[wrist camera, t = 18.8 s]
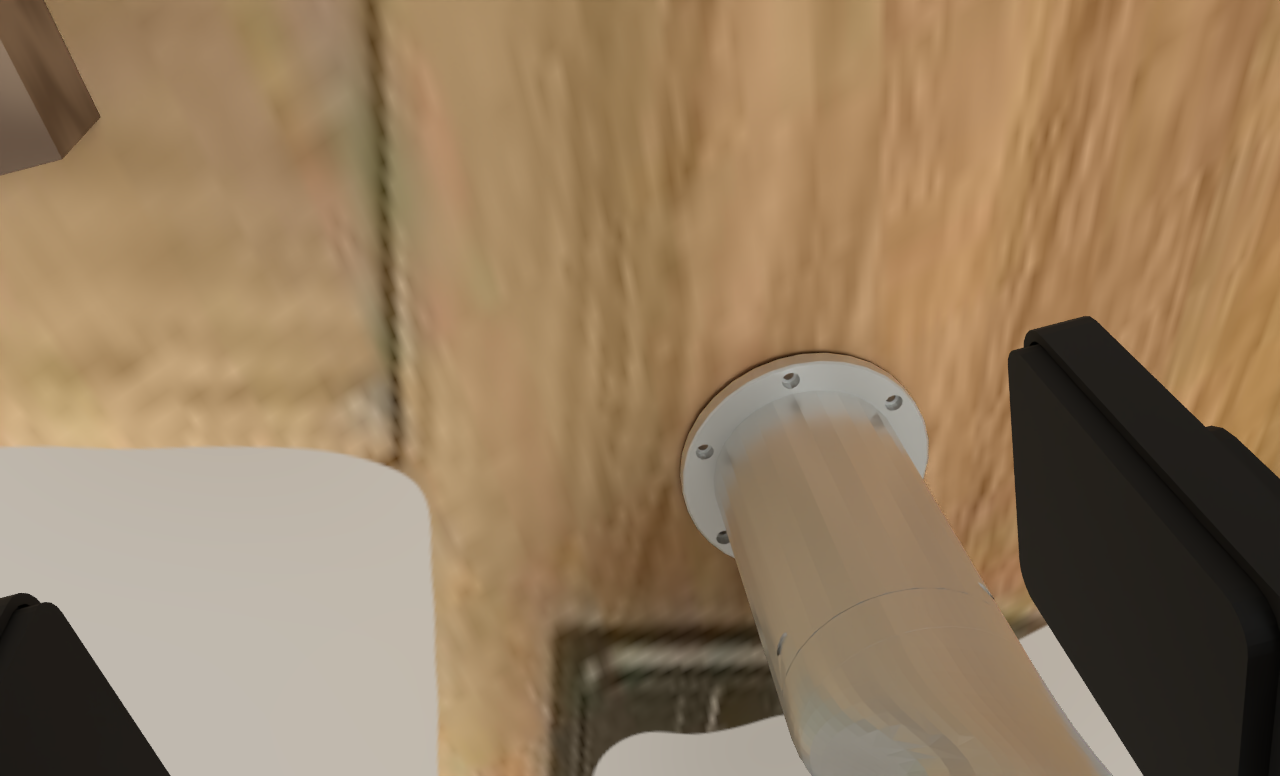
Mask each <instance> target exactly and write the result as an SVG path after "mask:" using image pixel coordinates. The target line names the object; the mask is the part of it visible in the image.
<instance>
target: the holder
mask: <svg viewBox="0 0 1280 776" xmlns="http://www.w3.org/2000/svg"><path fill="white" fill-rule="evenodd" d="M99 118H100V115H99V113H98V111H97V109H96V107H95V105H94V103H93V101H92V99H91V97H90V95H89V93H88V91H87V89H86V87H85V85H84V83H83V80H82V78H81V76H80V74H79V72H78V70H77V68H76V66H75V64H74V62H73V60H72V58H71V56H70V54H69V52H68V50H67V48H66V46H65V44H64V41H63V39H62V37H61V35H60V33H59V31H58V29H57V27H56V25H55V23H54V21H53V19H52V17H51V15H50V13H49V11H48V9H47V7H46V5H45V3H44V0H0V175H4V174H8V173H11V172H15V171H19V170H23V169H27V168H31V167H34V166H38V165H42V164H46V163H50V162H53V161H57V160H61V159H63V158H64V157H65V156H66V154H67V153H68V152H69V151H70V150H71V149H72V148H73V147H74V146H75V144H76V143H77V142H78V141H79V140H80V139H81V138H82V137H83V136H84V135H85V133H86V132H87V131H88V130H89V129H90V128H91V127H92V126H93V125H94V123H95V122H96V121H97V120H98V119H99Z"/></svg>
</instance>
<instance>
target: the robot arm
mask: <svg viewBox="0 0 1280 776" xmlns="http://www.w3.org/2000/svg"><path fill="white" fill-rule="evenodd" d="M788 373H790V374H788ZM786 374H788V375H786ZM1008 375H1009V391H1010V408H1011V425H1012V442H1013V458H1014V475H1015V492H1016V509H1017V525H1018V542H1019V559H1020V567H1021V572H1022V576H1023V579H1024V582H1025V585H1026V588H1027V590H1028V592H1029V595H1030V597H1031V598H1032V600H1033V602H1034V603H1035V605H1036V607H1037V608H1038V610H1039V611H1040V613H1041V615H1042V616H1043V618H1044V619H1045V621H1046V622H1047V624H1048V626H1049V627H1050V629H1051V630H1052V632H1053V633H1054V635H1055V637H1056V638H1057V640H1058V641H1059V643H1060V645H1061V646H1062V648H1063V649H1064V651H1065V652H1066V654H1067V656H1068V657H1069V659H1070V660H1071V662H1072V663H1073V665H1074V667H1075V668H1076V670H1077V671H1078V673H1079V674H1080V676H1081V677H1082V679H1083V681H1084V682H1085V684H1086V686H1087V687H1088V689H1089V690H1090V692H1091V693H1092V695H1093V697H1094V698H1095V700H1096V701H1097V703H1098V705H1099V706H1100V708H1101V709H1102V711H1103V712H1104V714H1105V715H1106V717H1107V719H1108V720H1109V722H1110V723H1111V725H1112V727H1113V728H1114V730H1115V731H1116V733H1117V734H1118V736H1119V738H1120V739H1121V741H1122V742H1123V744H1124V746H1125V747H1126V749H1127V750H1128V752H1129V754H1130V755H1131V757H1132V758H1133V760H1134V761H1135V763H1136V764H1137V766H1138V768H1139V769H1140V771H1141V772H1142V774H1143V776H1280V479H1279V478H1278V477H1277V476H1276V475H1275V474H1274V473H1273V472H1272V471H1271V470H1270V469H1269V468H1268V467H1267V466H1266V465H1264V464H1263V463H1262V462H1261V461H1260V460H1259V459H1258V458H1257V457H1256V456H1255V455H1254V454H1253V453H1252V452H1251V451H1250V450H1249V449H1248V448H1247V447H1245V446H1244V445H1243V444H1242V443H1241V442H1240V441H1239V440H1238V439H1237V438H1236V437H1235V436H1233V435H1232V434H1231V433H1229V432H1228V431H1226V430H1225V429H1224V428H1220V427H1215V426H1208V427H1205V426H1204V425H1203V424H1202V423H1201V422H1200V421H1199V420H1198V419H1197V418H1196V417H1195V416H1194V415H1193V414H1192V413H1191V412H1189V411H1188V410H1187V409H1186V408H1185V407H1184V406H1183V405H1182V404H1181V403H1180V402H1179V401H1178V400H1177V399H1176V398H1175V397H1174V396H1173V395H1172V394H1171V393H1170V392H1169V391H1168V390H1167V389H1166V388H1165V387H1164V386H1163V385H1162V384H1161V383H1160V382H1159V381H1158V380H1157V379H1156V378H1155V377H1154V376H1153V375H1151V374H1150V373H1149V372H1148V371H1147V370H1146V369H1145V368H1144V367H1143V366H1142V365H1141V364H1140V363H1139V362H1138V361H1137V360H1136V359H1135V358H1134V357H1133V356H1132V355H1131V354H1130V353H1129V352H1128V351H1127V350H1126V349H1125V348H1124V347H1123V346H1122V345H1121V344H1120V343H1119V342H1118V341H1117V340H1116V339H1114V338H1113V337H1112V336H1111V335H1110V334H1109V333H1108V332H1107V331H1106V330H1105V329H1104V328H1103V327H1102V326H1101V325H1100V324H1099V323H1098V322H1097V321H1096V320H1094V319H1093V318H1091V317H1090V316H1083V317H1080V318H1076V319H1072V320H1068V321H1064V322H1060V323H1057V324H1053V325H1049V326H1045V327H1041V328H1037V329H1033V330H1030V331H1029V332H1028V333H1027V334H1026V336H1025V340H1024V348H1021V349H1017V350H1013V351H1011V353H1010V354H1009V358H1008ZM927 462H928V435H927V430H926V426H925V422H924V419H923V417H922V415H921V413H920V411H919V409H918V407H917V405H916V403H915V402H914V400H913V399H912V397H911V396H910V395H909V393H908V392H907V390H906V389H905V387H904V386H903V385H901V384H900V383H899V382H898V381H897V380H896V379H895V378H894V377H893V376H892V375H891V374H890V373H888V372H886V371H884V370H883V369H881V368H879V367H878V366H876V365H874V364H872V363H870V362H867V361H864V360H861V359H858V358H855V357H852V356H848V355H840V354H832V353H811V354H800V355H795V356H790V357H786V358H781V359H777V360H775V361H772V362H770V363H767V364H764V365H762V366H759V367H757V368H754V369H753V370H751V371H749V372H748V373H746V374H744V375H743V376H741V377H739V378H738V379H736V380H734V381H733V382H731V383H730V384H729V385H728V386H727V387H725V388H724V389H723V390H722V391H721V392H720V393H718V394H717V395H716V396H715V397H714V398H713V399H712V400H711V401H710V403H709V404H708V405H707V406H706V407H705V409H704V410H703V411H702V412H701V413H700V415H699V416H698V418H697V420H696V422H695V423H694V425H693V427H692V429H691V430H690V432H689V434H688V437H687V440H686V443H685V446H684V449H683V452H682V459H681V469H680V478H681V485H682V493H683V496H684V499H685V503H686V506H687V510H688V512H689V514H690V516H691V518H692V520H693V522H694V524H695V526H696V528H697V529H698V530H699V531H700V532H701V533H702V535H703V536H704V537H705V538H706V539H707V540H708V541H709V542H710V543H711V544H712V545H714V546H715V547H716V548H718V549H719V550H720V551H722V552H723V553H724V554H726V555H729V556H731V557H733V558H735V560H736V563H737V566H738V570H739V573H740V576H741V579H742V582H743V586H744V589H745V592H746V595H747V598H748V601H749V605H750V608H751V611H752V614H753V617H754V621H755V624H756V627H757V630H758V633H759V637H760V640H761V643H762V646H763V649H764V652H765V656H766V659H767V662H768V665H769V668H770V672H771V675H772V678H773V681H774V684H775V687H776V691H777V694H778V697H779V700H780V703H781V707H782V710H783V713H784V716H785V719H786V722H787V725H788V728H789V732H790V735H791V738H792V741H793V743H794V745H795V747H796V749H797V752H798V754H799V757H800V758H801V760H802V761H803V763H804V764H805V766H806V768H807V769H808V771H809V773H810V774H811V775H812V776H1113V775H1112V774H1111V773H1110V772H1109V770H1108V769H1107V768H1106V767H1105V765H1104V764H1103V763H1102V762H1101V761H1100V760H1099V758H1098V757H1097V756H1096V755H1095V754H1094V752H1093V751H1092V750H1091V748H1090V747H1089V746H1088V744H1087V743H1086V742H1085V741H1084V739H1083V738H1082V737H1081V735H1080V734H1079V733H1078V731H1077V730H1076V729H1075V727H1074V726H1073V724H1072V723H1071V722H1070V720H1069V719H1068V717H1067V716H1066V714H1065V713H1064V711H1063V710H1062V708H1061V707H1060V706H1059V704H1058V703H1057V701H1056V700H1055V698H1054V696H1053V695H1052V693H1051V692H1050V690H1049V689H1048V687H1047V686H1046V684H1045V683H1044V681H1043V680H1042V678H1041V676H1040V675H1039V673H1038V672H1037V670H1036V668H1035V667H1034V665H1033V664H1032V662H1031V660H1030V659H1029V657H1028V655H1027V654H1026V652H1025V650H1024V649H1023V647H1022V645H1021V644H1020V642H1019V640H1018V639H1017V637H1016V635H1015V634H1014V632H1013V630H1012V629H1011V627H1010V625H1009V624H1008V622H1007V621H1006V619H1005V617H1004V616H1003V614H1002V612H1001V610H1000V609H999V607H998V605H997V603H996V602H995V600H994V598H993V597H992V595H991V593H990V592H989V590H988V588H987V586H986V585H985V583H984V581H983V580H982V578H981V576H980V575H979V573H978V571H977V570H976V568H975V566H974V565H973V563H972V561H971V559H970V558H969V556H968V554H967V553H966V551H965V549H964V548H963V546H962V544H961V543H960V541H959V539H958V538H957V536H956V534H955V532H954V531H953V529H952V527H951V526H950V524H949V522H948V521H947V519H946V517H945V516H944V514H943V512H942V511H941V509H940V507H939V505H938V504H937V502H936V500H935V499H934V497H933V495H932V494H931V492H930V490H929V489H928V487H927V485H926V484H925V482H924V480H923V479H924V475H925V471H926V467H927ZM0 776H170V774H169V773H168V771H167V770H166V769H165V767H164V765H163V764H162V762H161V761H160V759H159V758H158V756H157V755H156V753H155V752H154V750H153V749H152V747H151V746H150V744H149V743H148V741H147V740H146V738H145V737H144V735H143V734H142V732H141V731H140V729H139V728H138V726H137V725H136V723H135V722H134V720H133V719H132V717H131V716H130V714H129V713H128V711H127V710H126V708H125V707H124V705H123V704H122V702H121V701H120V699H119V698H118V696H117V695H116V693H115V692H114V690H113V689H112V687H111V686H110V684H109V683H108V681H107V679H106V678H105V677H104V675H103V674H102V672H101V671H100V669H99V667H98V666H97V665H96V663H95V661H94V660H93V658H92V657H91V655H90V654H89V653H88V651H87V649H86V648H85V646H84V645H83V643H82V642H81V640H80V639H79V637H78V636H77V634H76V633H75V631H74V630H73V628H72V627H71V625H70V624H69V622H68V621H67V619H66V618H65V616H64V615H63V613H62V612H61V611H60V610H59V608H58V607H57V606H55V605H54V604H52V603H47V602H44V603H40V602H39V601H38V600H37V598H35V597H33V596H32V595H30V594H26V593H18V594H15V595H11V596H7V597H3V598H0Z"/></svg>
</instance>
